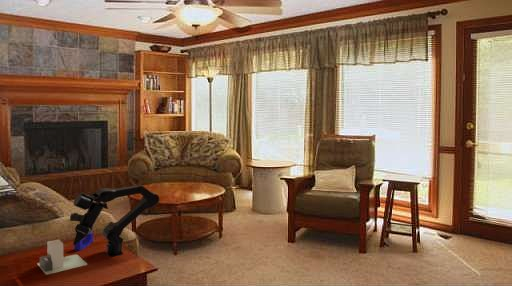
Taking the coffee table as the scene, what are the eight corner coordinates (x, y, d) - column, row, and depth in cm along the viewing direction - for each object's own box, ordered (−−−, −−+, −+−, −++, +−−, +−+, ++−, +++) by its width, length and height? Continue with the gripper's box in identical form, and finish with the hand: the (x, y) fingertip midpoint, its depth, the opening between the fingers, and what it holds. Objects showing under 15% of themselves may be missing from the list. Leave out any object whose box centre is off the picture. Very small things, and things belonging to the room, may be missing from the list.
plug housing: (59, 261, 200) (58, 239, 198) (63, 266, 195) (63, 243, 194) (47, 264, 196) (47, 241, 195) (51, 269, 192) (51, 245, 190)
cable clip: (84, 243, 226) (84, 232, 225) (92, 244, 225) (92, 233, 224) (71, 252, 214) (71, 240, 213) (80, 253, 213) (80, 241, 212)
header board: (76, 256, 209) (76, 246, 208) (87, 266, 199) (87, 256, 198) (36, 265, 197) (36, 254, 196) (46, 276, 187) (46, 265, 186)
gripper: (80, 204, 213) (63, 233, 210) (74, 207, 194) (55, 238, 192) (100, 214, 215) (84, 243, 212) (96, 218, 197) (78, 249, 194)
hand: (75, 243), depth 202 cm, fingers open, 9 cm apart
